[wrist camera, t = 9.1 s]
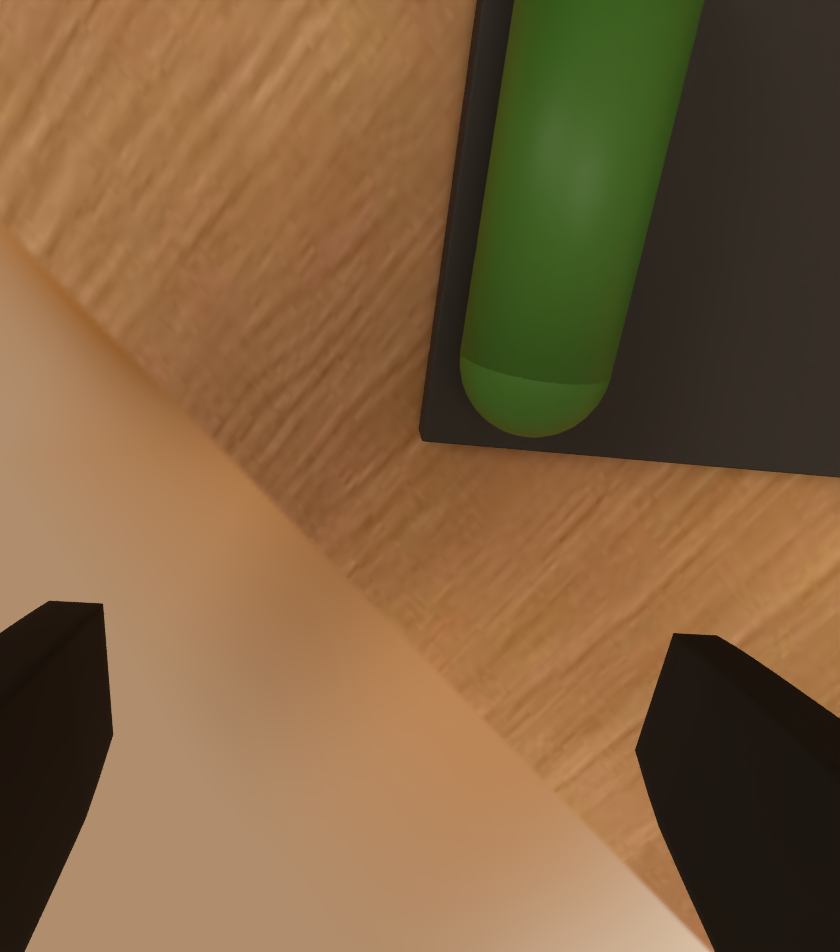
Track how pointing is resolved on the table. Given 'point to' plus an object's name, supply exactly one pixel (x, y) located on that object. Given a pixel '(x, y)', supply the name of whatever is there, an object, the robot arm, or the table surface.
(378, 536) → the table surface
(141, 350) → the table surface
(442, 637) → the table surface
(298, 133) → the table surface
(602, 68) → the cucumber
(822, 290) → the mat
